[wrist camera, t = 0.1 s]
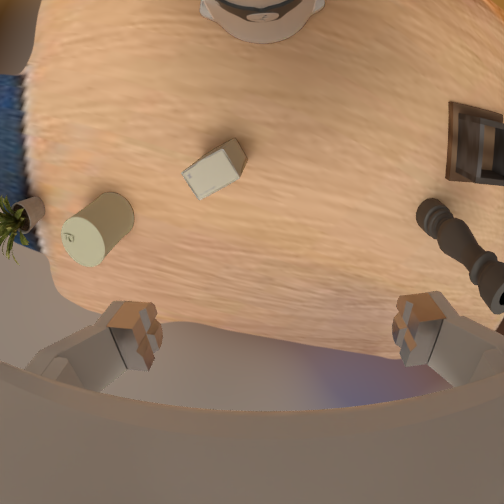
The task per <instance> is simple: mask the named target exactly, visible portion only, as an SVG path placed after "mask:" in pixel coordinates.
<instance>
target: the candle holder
mask: <svg viewBox="0 0 504 504" xmlns="http://www.w3.org/2000/svg"><path fill="white" fill-rule="evenodd" d="M416 220H417V223H418V225H419V226H420V227H421V228H422V229H423V230H424V231H425V232H426V233H427V234H428V235H429V236H431V237H432V238H433V239H437V241H438V244H439V247H440V249H441V250H442V251H443V252H444V253H445V254H447V255H448V256H450V257H452V258H454V259H455V260H457V261H459V262H460V263H462V264H463V265H464V266H465V267H466V268H467V269H468V271H469V276H470V280H471V282H472V283H473V284H474V285H478V287H479V291H480V296H481V297H482V299H483V300H484V301H485V303H486V304H487V306H488V307H489V308H490V310H491V311H492V312H493V313H494V314H501V313H503V312H504V263H503V262H499V261H497V256H496V255H495V254H494V253H493V252H490V251H485V250H484V249H483V248H482V247H481V246H479V245H478V243H477V241H476V239H475V238H474V236H473V234H472V232H471V231H470V229H469V227H468V226H467V224H466V223H465V222H464V221H463V220H460V219H457V218H454V217H453V214H452V213H451V212H450V210H449V209H448V208H447V207H446V206H445V205H443V204H442V203H441V202H440V201H438V200H436V199H433V198H431V199H427V200H425V201H424V202H422V203H421V205H420V206H419V207H418V210H417V213H416Z"/></svg>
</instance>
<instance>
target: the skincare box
mask: <svg viewBox="0 0 504 504" xmlns="http://www.w3.org/2000/svg"><path fill="white" fill-rule="evenodd" d="M247 161H248V159H247V158H246V156H245V154H244V152H243V150H242V149H241V147H240V145H239V143H238V142H237V140H236V139H235V138H234V139H232V140H230V141H228V142H226V143H224V144H222V145H221V146H219V147H217V148H215V149H214V150H212V151H210V152H208V153H207V154H205V155H204V156H202V157H201V158H200V159H198V160H197V161H196V162H194V163H193V164H192V165H191V166H189V167H188V168H187V169H185V170H184V171H183V172H182V173H181V174H182V175H183V177H184V179H185V180H186V182H187V183H188V185H189V187H190V188H191V190H192V191H193V193H194V194H195V196H196V197H197V198H198V200H201V199H203V198H205V197H207V196H209V195H211V194H213V193H215V192H217V191H218V190H220V189H222V188H224V187H225V186H227V185H229V184H231V183H232V182H234V181H236V180H238V179H239V178H240V176H241V174H242V172H243V170H244V167H245V165H246V163H247Z"/></svg>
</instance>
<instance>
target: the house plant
mask: <svg viewBox="0 0 504 504" xmlns="http://www.w3.org/2000/svg"><path fill="white" fill-rule="evenodd" d="M3 203H4V205H5V206H6V208H7V210H8V211H9V212H10V213H8V212H7V211H6V210H5V209H4V207H3ZM3 203H2V196H1V197H0V207H1V209H2V211H3V212H4V213H6V214H4V213H1V212H0V222H1V223H0V236H2V235H3V236H2V237H1V238H0V245H1V244H2V242H3V241H4V239H5V238H6V237H8V235H9V234H10V233H11V232H12V233H11V235H10V237H9V240H8V244H7V251H8V259H9V253H10V250H11V249H12V246H13V241H14V237H15V235H17V234H16V232H17V230H18V231H19V232H20V240H21V243H22V244H23V245H29V244H28V243H29V242H28V241H27V239H26V238H25V237H24V235H23V234H26V233H28V232H29V231H30V230H31V229H32V228H33V226H34V225H35V224H36V223H37V222H38V221H39V220H40V219H41V218H42V217H43V216H44V214H45V207H44V204H43V202H42V200H41V199H40V198H39V197H36V196H35V197H31V198H28V199H26V200H23V201H20V202H17V203H15V204H13V205H12V207H10V204H9V202H8V199H7V196H6V198H5V200H4V198H3ZM8 214H9V215H8ZM22 233H23V234H22ZM4 242H5V241H4ZM27 242H28V243H27ZM2 250H3V249H2ZM7 251H6V256H7ZM13 258H14V256H13ZM14 259H15V258H14ZM15 261H16V260H15ZM16 263H17V261H16Z"/></svg>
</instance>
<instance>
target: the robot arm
mask: <svg viewBox="0 0 504 504" xmlns="http://www.w3.org/2000/svg"><path fill="white" fill-rule="evenodd" d="M324 5H325V1H324V0H201V4H200V13H201V15H202V16H203V17H204V18H207V19H209V20H212V21H215V22H217V23H218V24H219V25H221V26H222V27H223V28H224V29H225V30H226V31H227V32H228V33H229V34H231V35H232V36H234V37H236V38H238V39H240V40H243V41H246V42H251V43H259V44H265V43H274V42H278V41H282V40H284V39H287V38H289V37H291V36H292V35H294V34H295V33H297V32H298V31H299V30H300V29H301V28H302V27H303V26H304V24H305V23H306V21H307V20H308V18H309V17H310V16H311V15H313V14H315V13H316V12H318V11H320V10H321V9H323V7H324ZM396 307H397V309H398V311H399V312H398V314H397V315H396V316H395V317H394V319H393V324H392V335H393V339H394V342H395V344H396V345H397V346H399V347H401V350H400V355H401V358H402V360H403V362H404V364H405V367H409V366H416V365H423V364H428V366H430V367H431V368H432V369H433V370H434V371H436V372H437V373H438V374H439V375H441V376H442V377H443V378H444V379H445V380H447V381H448V382H449V383H450V384H451V385H453V386H454V388H451V389H447V390H443V391H439V392H435V393H431V394H427V395H422V396H417V397H412V398H407V399H402V400H396V401H391V402H385V403H379V404H371V405H363V406H355V407H346V408H335V409H322V410H305V411H231V410H214V409H201V408H191V407H181V406H172V405H166V404H158V403H151V402H146V401H140V400H134V399H129V398H123V397H118V396H114V395H109V394H104V393H100V392H101V391H102V390H103V389H104V388H106V387H107V386H108V385H109V384H111V383H112V382H113V381H114V380H115V379H117V378H118V377H119V376H121V375H122V374H123V373H124V372H126V371H127V369H129V370H139V371H149V370H150V368H151V365H152V363H153V361H154V359H155V357H154V355H153V353H155V352H156V351H158V350H159V349H160V347H161V344H162V339H163V332H162V327H161V324H160V323H159V322H158V321H157V320H156V319H155V317H156V315H157V310H156V307H155V305H154V304H153V303H152V302H134V301H113V302H112V303H111V304H110V306H109V307H108V308H107V309H106V310H105V312H104V313H103V314H102V315H101V317H100V318H99V319H98V320H97V321H96V323H95V324H94V325H93V326H91V325H90V326H88V327H85V328H84V329H81V330H80V331H78V332H75V333H74V334H72V335H70V336H68V337H66V338H64V339H62V340H60V341H58V342H56V343H54V344H52V345H50V346H48V347H46V348H44V349H42V350H40V351H39V352H38V353H37V354H36V355H35V357H34V358H33V359H32V360H31V361H30V363H29V364H28V365H27V366H26V367H25V369H24V370H23V369H20V368H18V367H15V366H12V365H10V364H7V363H5V362H2V361H0V504H504V336H503V335H501V334H499V333H497V332H495V331H493V330H491V329H489V328H487V327H485V326H483V325H481V324H479V323H477V322H475V321H473V320H471V319H469V318H467V317H465V316H459V315H458V313H457V312H456V311H455V309H454V308H453V307H452V306H451V304H450V303H449V302H448V301H447V299H446V298H445V297H444V296H443V294H442V293H441V292H439V291H433V292H426V293H419V294H411V295H402V296H399V298H398V300H397V305H396Z"/></svg>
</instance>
